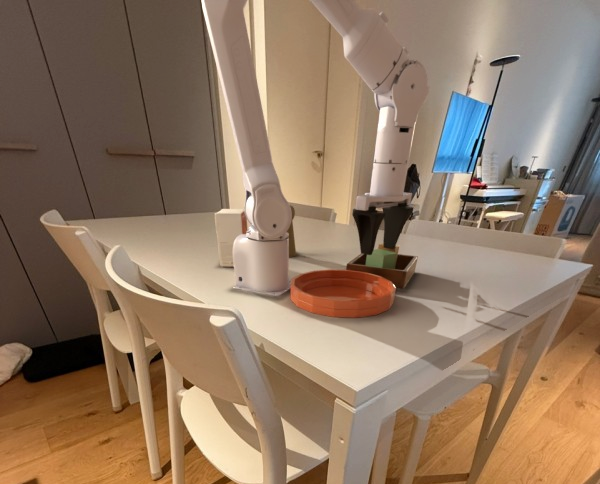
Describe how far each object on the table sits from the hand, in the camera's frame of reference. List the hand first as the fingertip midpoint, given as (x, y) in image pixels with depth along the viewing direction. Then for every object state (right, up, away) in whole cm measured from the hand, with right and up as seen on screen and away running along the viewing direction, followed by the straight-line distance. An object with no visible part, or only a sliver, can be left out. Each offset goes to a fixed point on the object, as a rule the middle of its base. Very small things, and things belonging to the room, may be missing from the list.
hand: (377, 251), depth 64 cm
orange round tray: (-8, -11, -6) cm, 15 cm away
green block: (+1, -4, +3) cm, 5 cm away
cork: (-19, +8, +21) cm, 30 cm away
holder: (+2, -3, +6) cm, 7 cm away
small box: (-30, +3, +14) cm, 33 cm away
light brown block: (+3, -1, +7) cm, 8 cm away
